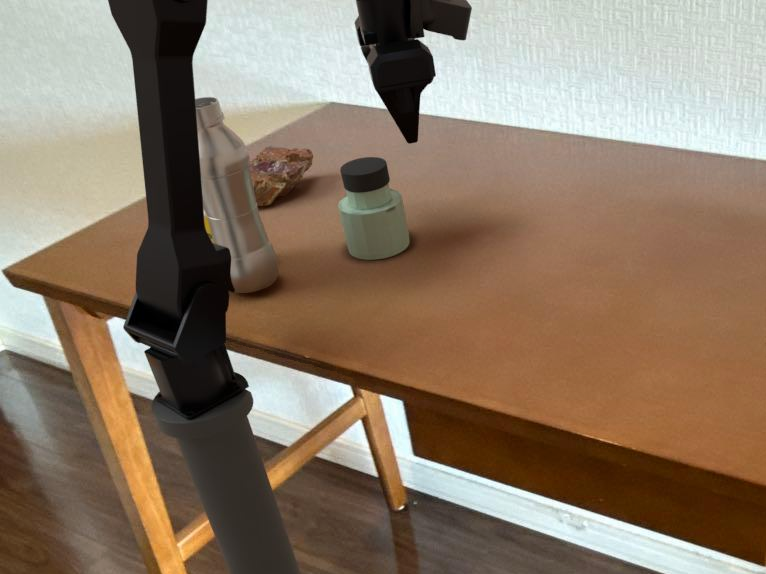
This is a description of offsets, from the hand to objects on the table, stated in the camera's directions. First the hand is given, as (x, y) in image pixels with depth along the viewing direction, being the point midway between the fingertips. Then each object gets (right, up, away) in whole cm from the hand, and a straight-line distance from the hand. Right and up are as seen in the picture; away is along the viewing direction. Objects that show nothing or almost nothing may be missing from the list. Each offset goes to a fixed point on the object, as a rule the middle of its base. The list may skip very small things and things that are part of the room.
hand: (407, 128), depth 111 cm
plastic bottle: (-18, -17, +4) cm, 24 cm away
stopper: (-5, -7, +6) cm, 10 cm away
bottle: (-4, -10, +9) cm, 14 cm away
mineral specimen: (-21, +1, +24) cm, 32 cm away
